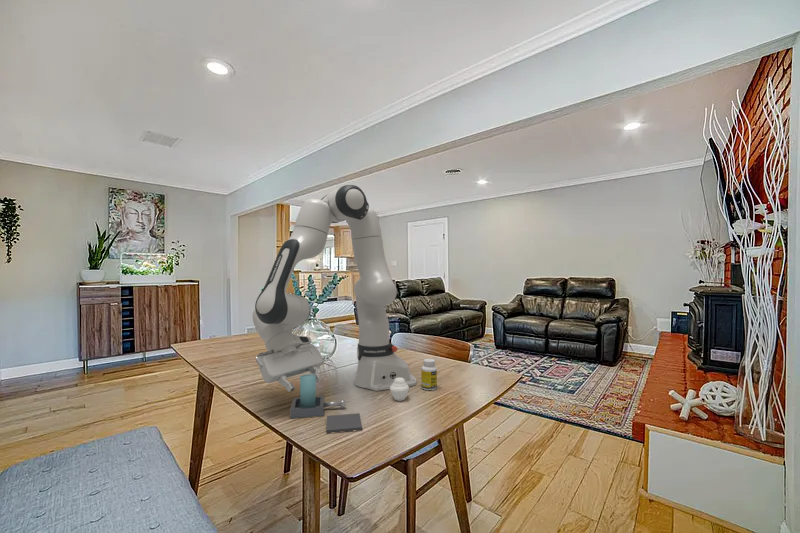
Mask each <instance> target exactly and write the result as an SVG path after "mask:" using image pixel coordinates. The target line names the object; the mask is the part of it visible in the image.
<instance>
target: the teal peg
mask: <svg viewBox="0 0 800 533" xmlns="http://www.w3.org/2000/svg"><path fill="white" fill-rule="evenodd" d="M299 381H300V382H299V398H300V407H314V406H316V396H317V395H316V394H317V393H316V392H317V390H316V388H317V387H316V385H317V382H316V376H315V375H313V374H304V375H301V376H299ZM300 407H299V408H300Z"/></svg>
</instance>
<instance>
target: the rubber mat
mask: <svg viewBox="0 0 800 533" xmlns="http://www.w3.org/2000/svg"><path fill="white" fill-rule="evenodd" d="M325 428H326V432H325V433H327V434H332V433H331V432H339V433H341V432H340V431H350V432H354V431H353V430H361V431H363V425H362V421H361V414H360V413H347V414H346V413H344V414H334V415H333V414H332V415H326V427H325Z"/></svg>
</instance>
